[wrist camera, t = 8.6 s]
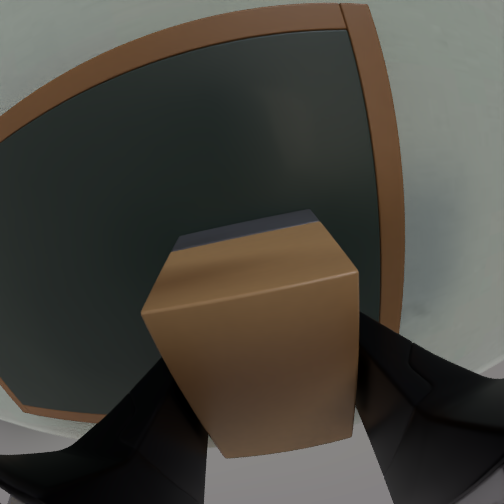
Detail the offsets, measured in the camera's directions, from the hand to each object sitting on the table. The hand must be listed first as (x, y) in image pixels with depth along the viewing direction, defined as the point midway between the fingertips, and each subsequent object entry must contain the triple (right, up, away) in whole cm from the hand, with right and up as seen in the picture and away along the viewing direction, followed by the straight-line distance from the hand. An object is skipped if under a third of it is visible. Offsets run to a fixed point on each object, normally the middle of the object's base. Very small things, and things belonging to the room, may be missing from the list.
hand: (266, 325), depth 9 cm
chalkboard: (-7, +1, +1) cm, 7 cm away
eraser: (0, 0, +1) cm, 1 cm away
